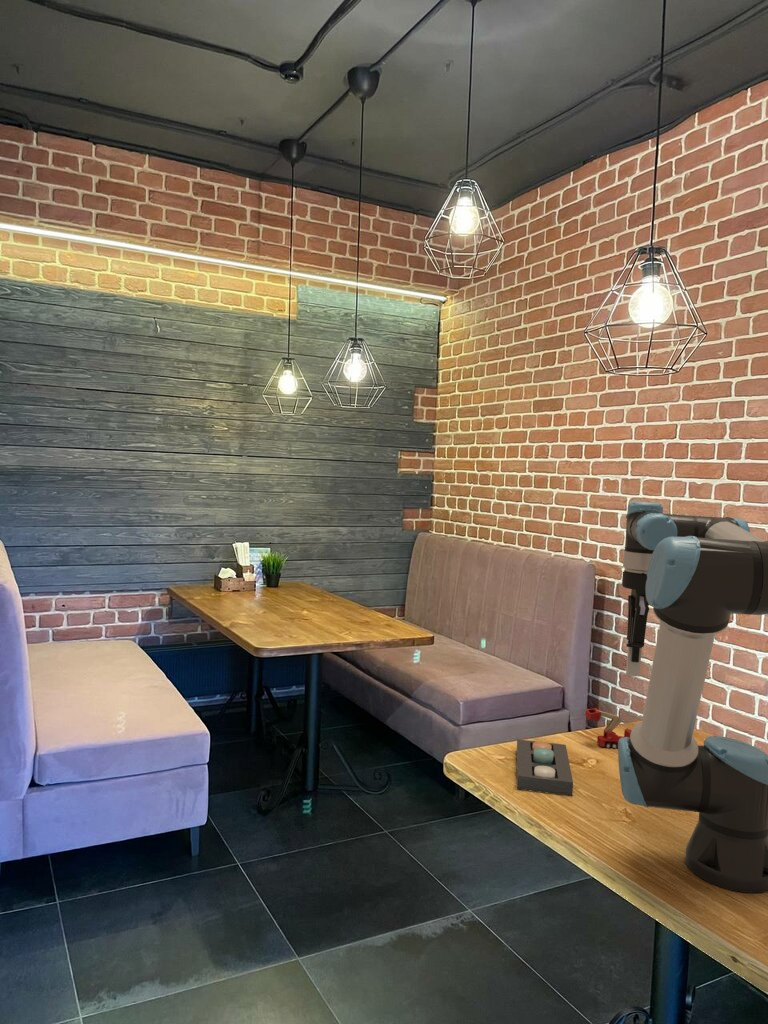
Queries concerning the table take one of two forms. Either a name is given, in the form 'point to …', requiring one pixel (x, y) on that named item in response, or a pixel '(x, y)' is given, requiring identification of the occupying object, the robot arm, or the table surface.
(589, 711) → the toy fire truck
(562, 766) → the panel
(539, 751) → the button teal
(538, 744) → the button terracotta
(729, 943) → the table surface
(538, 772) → the button ivory
